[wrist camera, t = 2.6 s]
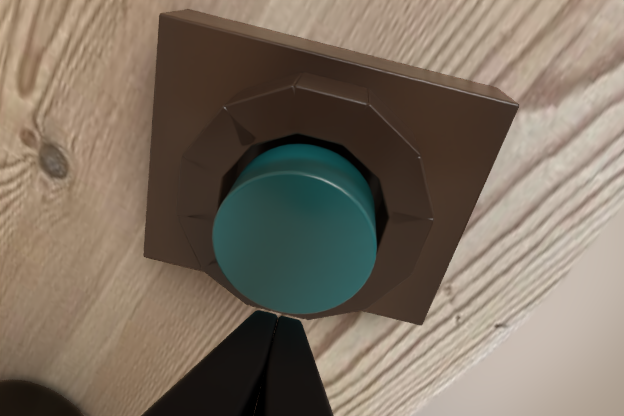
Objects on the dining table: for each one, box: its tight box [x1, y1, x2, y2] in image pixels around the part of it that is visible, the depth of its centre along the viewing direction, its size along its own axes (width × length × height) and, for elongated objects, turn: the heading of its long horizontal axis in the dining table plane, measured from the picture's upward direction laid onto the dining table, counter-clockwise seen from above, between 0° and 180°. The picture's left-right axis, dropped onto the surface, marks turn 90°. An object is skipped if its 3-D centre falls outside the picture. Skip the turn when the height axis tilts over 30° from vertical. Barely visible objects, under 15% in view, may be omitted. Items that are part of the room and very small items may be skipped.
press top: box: [212, 144, 377, 314], centre depth 12 cm, size 4×4×2 cm
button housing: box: [144, 9, 519, 325], centre depth 14 cm, size 10×8×4 cm
